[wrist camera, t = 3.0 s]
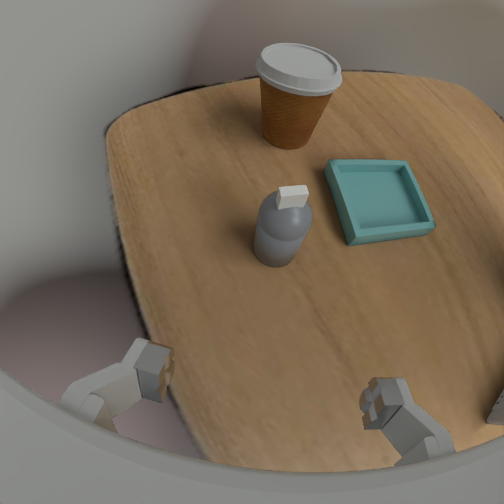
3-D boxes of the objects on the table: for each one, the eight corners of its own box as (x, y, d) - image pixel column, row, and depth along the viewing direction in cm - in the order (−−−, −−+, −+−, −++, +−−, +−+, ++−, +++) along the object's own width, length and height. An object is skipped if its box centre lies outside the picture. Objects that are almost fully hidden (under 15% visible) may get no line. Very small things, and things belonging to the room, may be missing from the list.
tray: (398, 170, 34) (406, 160, 32) (425, 235, 30) (436, 227, 28) (323, 171, 32) (328, 159, 30) (347, 246, 29) (356, 237, 27)
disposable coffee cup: (317, 167, 33) (346, 92, 22) (242, 149, 33) (246, 69, 22) (322, 120, 36) (344, 53, 25) (258, 105, 36) (266, 36, 25)
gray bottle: (291, 225, 29) (314, 164, 20) (300, 264, 28) (331, 215, 18) (250, 230, 29) (257, 168, 19) (257, 270, 27) (269, 221, 18)
